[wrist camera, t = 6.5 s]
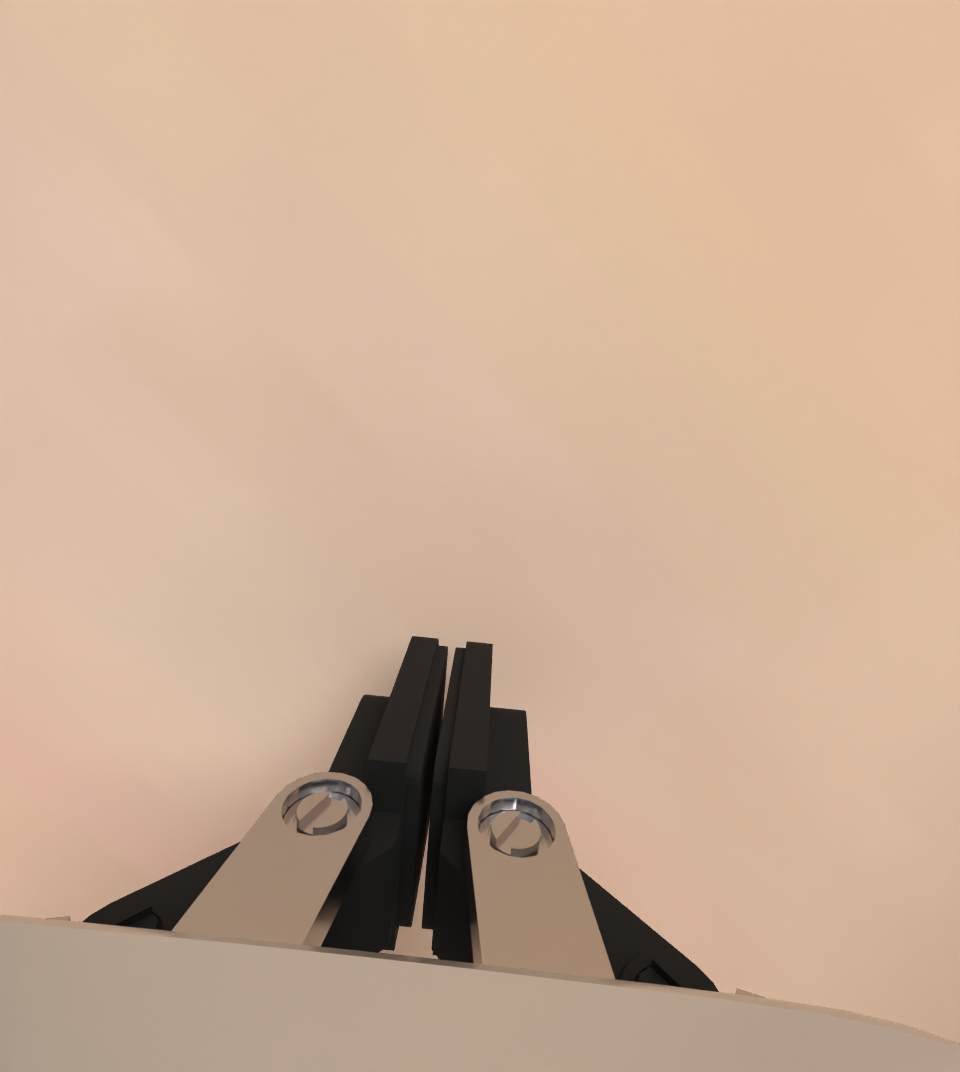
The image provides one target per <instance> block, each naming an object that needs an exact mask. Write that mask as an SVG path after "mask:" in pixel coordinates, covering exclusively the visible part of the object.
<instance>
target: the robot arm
mask: <svg viewBox="0 0 960 1072" xmlns="http://www.w3.org/2000/svg"><path fill="white" fill-rule="evenodd" d="M492 647H493V644H487V643H477V642H467V644H466V648H456V649H455V655H454V660H453V666H452V671H451V677H450V682H449V688H448V693H447V699H446V704H445V710H444V715H443V706H444V693H445V680H446V667H447V655H448V647H446V646H439V640H438V639H436V638H426V637H416V636H412V638H411V641H410V643H409V646H408V649H407V652H406V654H405V657H404V660H403V663H402V665H401V668H400V671H399V674H398V676H397V679H396V682H395V685H394V687H393V690H392V693H391V696H390V697H384V696H374V695H364V696H363V697H362V699H361V701H360V703H359V706H358V708H357V710H356V712H355V714H354V717H353V719H352V721H351V723H350V725H349V728H348V730H347V732H346V734H345V737H344V739H343V741H342V743H341V745H340V748H339V750H338V752H337V754H336V757H335V759H334V761H333V763H332V765H331V768H330V770H329V772H324V773H315V774H311V775H308V776H305V777H302V778H299V779H298V780H296V781H294V782H292V783H291V784H289V785H287V786H286V787H285V788H284V789H283V790H282V791H281V792H280V793H279V794H278V795H277V796H276V797H275V798H274V800H273V801H272V802H271V803H270V805H269V806H268V807H267V809H266V810H265V811H264V812H263V814H262V815H261V816H260V818H259V819H258V820H257V821H256V823H255V824H254V825H253V827H252V828H251V829H250V830H249V832H248V833H247V834H246V836H245V837H244V838H243V839H242V841H241V842H239V843H237V844H235V845H232V846H230V847H228V848H226V849H224V850H222V851H220V852H218V853H216V854H213V855H211V856H209V857H207V858H205V859H203V860H201V861H199V862H197V863H195V864H192V865H190V866H188V867H186V868H184V869H182V870H180V871H178V872H176V873H173V874H171V875H169V876H167V877H165V878H163V879H161V880H159V881H157V882H154V883H152V884H150V885H148V886H146V887H144V888H142V889H140V890H138V891H135V892H133V893H131V894H129V895H127V896H125V897H123V898H121V899H119V900H117V901H114V902H112V903H110V904H109V905H107V906H105V907H104V908H102V909H100V910H98V911H97V912H95V913H93V914H92V915H90V916H89V917H88V918H87V919H85V920H84V921H83V922H75V921H71V920H70V916H66V917H56V918H46V919H43V918H32V917H21V916H11V915H0V1072H960V1043H957V1042H954V1041H951V1040H948V1039H945V1038H942V1037H939V1036H936V1035H933V1034H930V1033H927V1032H924V1031H921V1030H918V1029H915V1028H912V1027H910V1026H907V1025H904V1024H899V1023H895V1022H891V1021H887V1020H883V1019H878V1018H874V1017H870V1016H866V1015H862V1014H858V1013H854V1012H850V1011H844V1010H838V1009H831V1008H825V1007H819V1006H812V1005H806V1004H800V1003H793V1002H787V1001H781V1000H775V999H768V998H765V997H762V996H759V995H756V994H753V993H750V992H747V991H744V990H741V989H738V988H737V989H736V993H735V994H731V993H723V992H719V991H718V990H717V988H716V987H715V985H714V983H713V982H712V981H711V980H710V979H709V978H708V977H707V976H706V975H705V974H704V973H703V972H702V971H701V970H700V969H699V968H698V967H697V966H696V965H695V964H694V963H692V962H691V961H690V960H689V959H688V958H686V957H685V956H684V955H683V954H682V953H680V952H679V951H678V950H677V949H676V948H674V947H673V946H672V945H671V944H670V943H668V942H667V941H666V940H665V939H664V938H662V937H661V936H660V935H659V934H658V933H656V932H655V931H654V930H653V929H652V928H650V927H649V926H648V925H647V924H646V923H644V922H643V921H642V920H641V919H640V918H638V917H637V916H636V915H635V914H634V913H632V912H631V911H630V910H629V909H628V908H626V907H625V906H624V905H623V904H622V903H620V902H619V901H618V900H617V899H616V898H614V897H613V896H612V895H611V894H610V893H608V892H607V891H606V890H605V889H604V888H602V887H601V886H600V885H599V884H598V883H596V882H595V881H594V880H593V879H592V878H590V877H589V876H588V875H587V874H586V873H584V872H583V871H582V870H581V869H580V868H579V867H578V864H577V861H576V858H575V854H574V851H573V848H572V845H571V842H570V839H569V836H568V833H567V830H566V827H565V824H564V822H563V821H562V819H561V817H560V815H559V813H558V812H557V811H556V810H555V809H554V808H553V807H552V806H551V805H550V804H548V803H547V802H545V801H543V800H542V799H540V798H539V797H537V796H534V795H532V794H531V779H530V763H529V748H528V733H527V717H526V711H524V710H514V709H504V708H494V707H490V691H491V669H492ZM442 718H443V720H442ZM429 821H430V825H429ZM428 827H429V838H428V851H427V864H426V877H425V891H424V904H423V917H422V928H423V929H432V930H433V939H432V951H433V955H436V956H437V957H438V958H439V959H440V960H439V959H430V958H421V957H412V956H403V955H394V954H385V953H379V952H380V951H381V950H393V951H394V949H395V944H396V939H397V934H398V929H399V926H404V927H411V926H412V921H413V915H414V909H415V904H416V898H417V892H418V886H419V880H420V874H421V868H422V863H423V857H424V851H425V845H426V839H427V833H428Z"/></svg>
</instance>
